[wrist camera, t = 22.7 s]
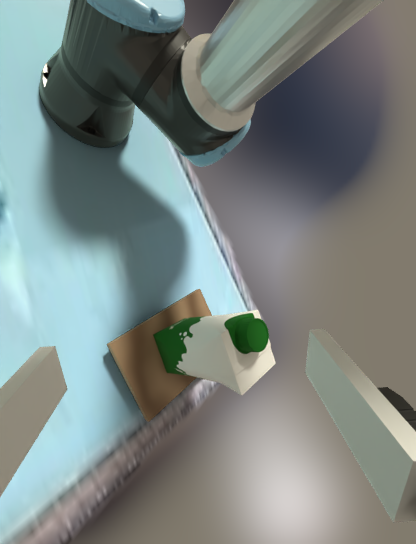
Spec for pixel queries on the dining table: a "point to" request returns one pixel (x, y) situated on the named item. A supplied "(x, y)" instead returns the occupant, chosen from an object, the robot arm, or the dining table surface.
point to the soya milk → (218, 349)
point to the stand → (154, 356)
